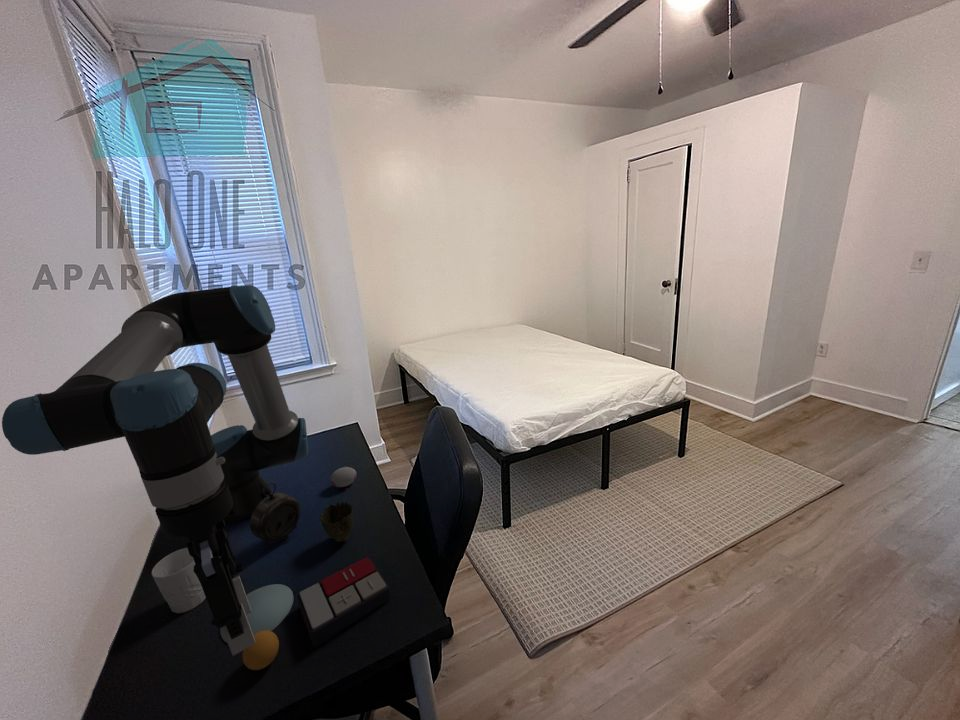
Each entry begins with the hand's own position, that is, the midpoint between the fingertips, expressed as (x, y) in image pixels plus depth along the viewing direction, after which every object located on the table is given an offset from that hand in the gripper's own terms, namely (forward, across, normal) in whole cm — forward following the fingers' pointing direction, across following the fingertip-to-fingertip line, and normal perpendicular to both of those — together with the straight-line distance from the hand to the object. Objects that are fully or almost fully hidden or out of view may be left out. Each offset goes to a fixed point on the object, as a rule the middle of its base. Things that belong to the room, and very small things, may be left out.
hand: (242, 630), depth 55 cm
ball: (+14, +10, 0) cm, 17 cm away
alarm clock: (+17, +41, -8) cm, 45 cm away
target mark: (+17, +22, 0) cm, 27 cm away
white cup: (+17, +35, +12) cm, 40 cm away
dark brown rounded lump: (+17, +31, -20) cm, 41 cm away
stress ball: (+17, +55, -27) cm, 63 cm away
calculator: (+17, +12, -15) cm, 26 cm away
